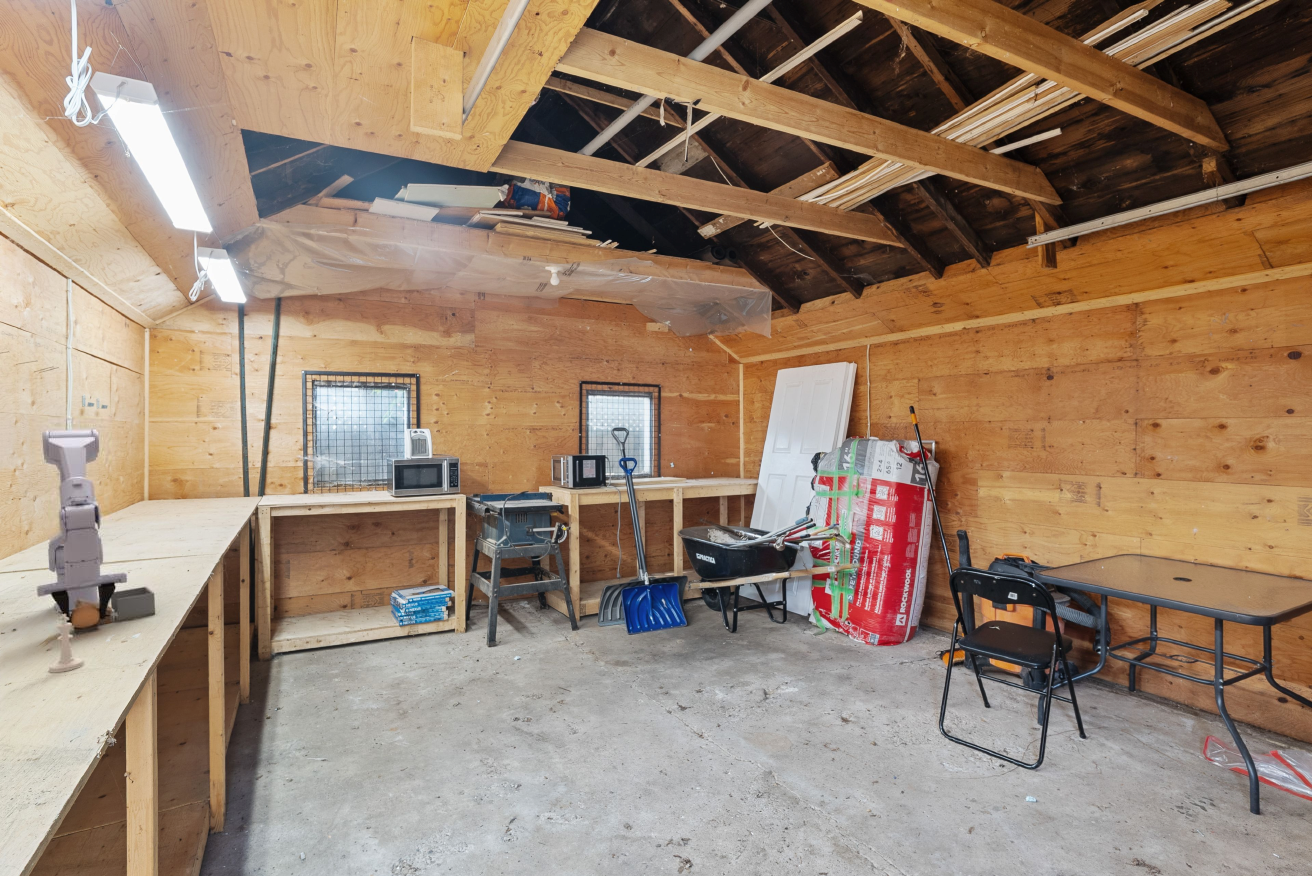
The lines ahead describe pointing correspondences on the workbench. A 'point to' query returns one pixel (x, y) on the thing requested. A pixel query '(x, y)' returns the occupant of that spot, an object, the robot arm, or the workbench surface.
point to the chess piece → (65, 650)
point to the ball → (85, 616)
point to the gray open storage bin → (133, 603)
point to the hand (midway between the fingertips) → (85, 621)
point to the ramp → (109, 611)
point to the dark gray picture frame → (85, 629)
